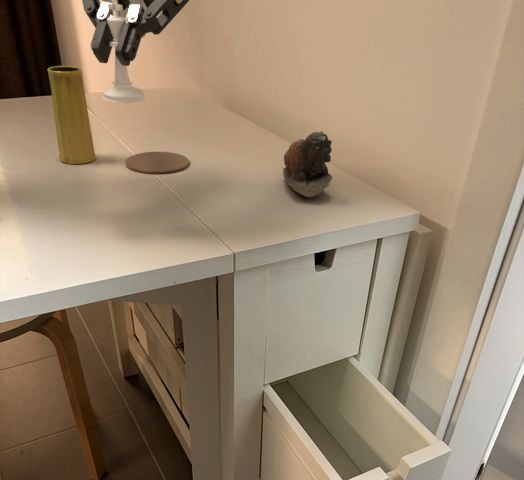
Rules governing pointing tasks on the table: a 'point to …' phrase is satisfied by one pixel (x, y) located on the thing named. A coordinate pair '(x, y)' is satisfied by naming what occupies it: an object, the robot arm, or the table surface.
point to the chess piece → (120, 66)
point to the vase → (71, 115)
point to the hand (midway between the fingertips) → (110, 59)
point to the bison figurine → (308, 164)
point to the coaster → (157, 162)
